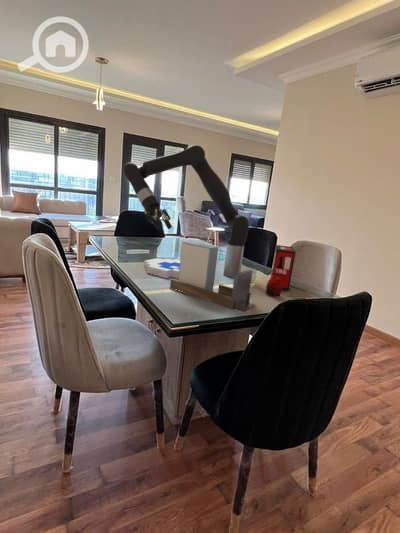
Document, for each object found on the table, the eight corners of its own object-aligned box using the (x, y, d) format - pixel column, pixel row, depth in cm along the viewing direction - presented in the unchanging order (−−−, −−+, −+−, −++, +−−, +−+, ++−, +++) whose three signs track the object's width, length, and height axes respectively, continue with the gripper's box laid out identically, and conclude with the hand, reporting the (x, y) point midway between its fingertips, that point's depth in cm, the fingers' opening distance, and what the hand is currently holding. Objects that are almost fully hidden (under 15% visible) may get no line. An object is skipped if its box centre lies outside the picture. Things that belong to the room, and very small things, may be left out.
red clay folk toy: (283, 297, 146) (289, 265, 143) (272, 298, 143) (278, 266, 139) (272, 292, 153) (277, 261, 149) (261, 293, 149) (266, 262, 146)
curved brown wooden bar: (186, 283, 151) (187, 275, 150) (249, 302, 134) (250, 293, 133) (170, 288, 141) (170, 279, 140) (235, 309, 123) (237, 299, 122)
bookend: (244, 301, 134) (249, 269, 131) (256, 304, 131) (261, 272, 128) (229, 308, 124) (234, 274, 120) (242, 312, 121) (247, 277, 118)
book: (185, 285, 148) (190, 240, 143) (212, 293, 140) (218, 247, 135) (177, 287, 142) (181, 241, 138) (204, 296, 135) (210, 248, 130)
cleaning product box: (269, 280, 174) (275, 244, 170) (286, 283, 172) (292, 247, 168) (270, 288, 158) (276, 249, 154) (288, 291, 157) (295, 252, 152)
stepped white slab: (206, 265, 176) (180, 274, 152) (206, 272, 177) (180, 282, 152) (165, 256, 188) (134, 263, 164) (164, 262, 189) (134, 270, 165)
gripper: (142, 193, 141) (159, 223, 138) (162, 195, 153) (179, 223, 150) (132, 204, 145) (149, 233, 142) (153, 205, 157) (169, 232, 154)
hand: (164, 228), depth 146 cm, fingers open, 7 cm apart
